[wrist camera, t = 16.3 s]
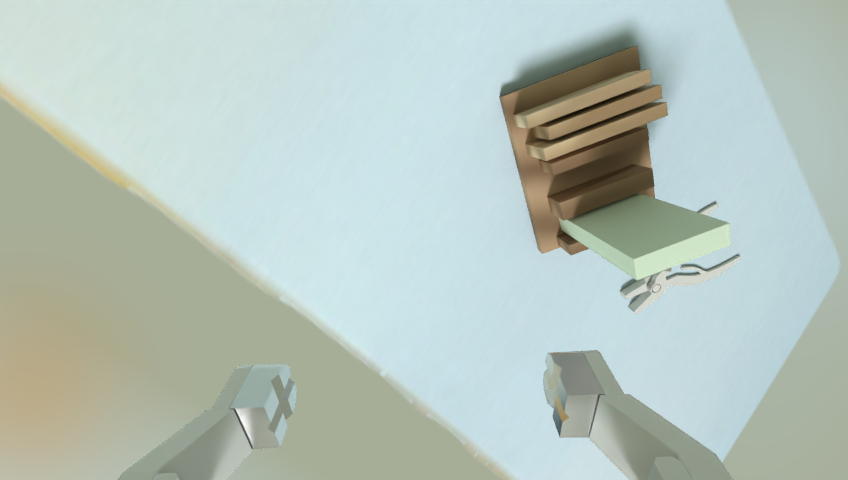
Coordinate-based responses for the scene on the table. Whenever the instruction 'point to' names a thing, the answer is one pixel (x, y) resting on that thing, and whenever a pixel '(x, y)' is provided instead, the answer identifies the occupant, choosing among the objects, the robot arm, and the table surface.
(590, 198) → the offcut rack
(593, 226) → the pale green flat block
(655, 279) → the pliers
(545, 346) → the table surface
